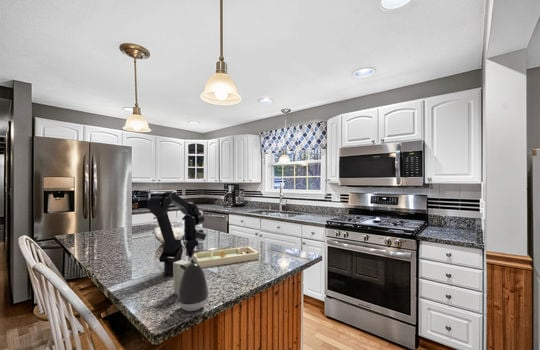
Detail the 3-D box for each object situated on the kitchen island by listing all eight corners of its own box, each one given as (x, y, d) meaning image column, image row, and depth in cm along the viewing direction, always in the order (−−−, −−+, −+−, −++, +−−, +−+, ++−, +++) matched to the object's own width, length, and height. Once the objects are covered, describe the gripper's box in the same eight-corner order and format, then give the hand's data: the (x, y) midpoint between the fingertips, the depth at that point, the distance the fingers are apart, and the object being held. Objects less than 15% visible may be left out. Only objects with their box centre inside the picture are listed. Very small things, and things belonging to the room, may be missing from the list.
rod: (229, 256, 143) (229, 245, 143) (186, 262, 133) (186, 251, 133) (228, 255, 145) (228, 244, 146) (185, 261, 135) (185, 249, 136)
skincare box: (192, 292, 99) (192, 261, 100) (183, 297, 96) (183, 264, 96) (182, 289, 103) (182, 259, 103) (172, 293, 99) (172, 262, 99)
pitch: (259, 259, 142) (259, 252, 142) (197, 268, 128) (197, 261, 128) (249, 252, 157) (248, 246, 157) (192, 259, 142) (192, 253, 143)
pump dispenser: (189, 299, 94) (189, 258, 94) (213, 302, 91) (213, 260, 91) (170, 312, 84) (170, 266, 84) (197, 317, 81) (197, 269, 81)
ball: (226, 257, 142) (226, 251, 142) (220, 258, 140) (220, 252, 140) (225, 256, 145) (225, 250, 145) (219, 257, 143) (219, 250, 143)
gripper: (208, 228, 130) (208, 259, 130) (202, 223, 147) (202, 250, 147) (186, 230, 126) (186, 262, 125) (182, 225, 143) (182, 252, 142)
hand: (189, 256), depth 135 cm, fingers open, 4 cm apart
